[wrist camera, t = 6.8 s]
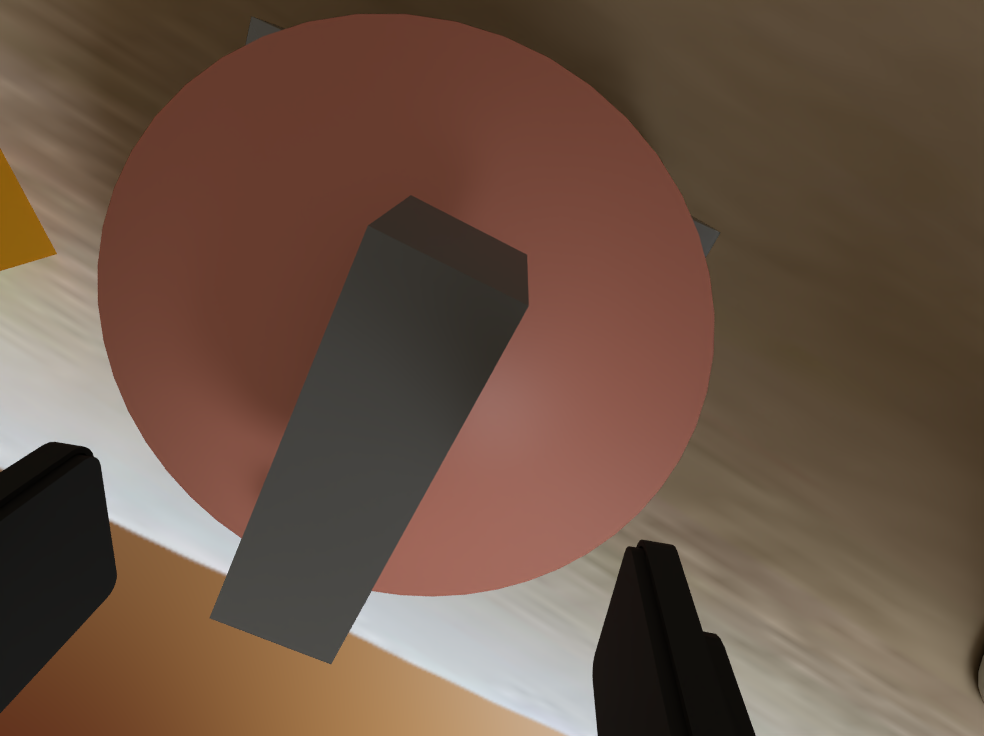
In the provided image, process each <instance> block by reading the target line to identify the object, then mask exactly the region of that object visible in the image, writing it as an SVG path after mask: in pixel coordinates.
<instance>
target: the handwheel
mask: <svg viewBox="0 0 984 736" xmlns="http://www.w3.org/2000/svg"><path fill="white" fill-rule="evenodd" d="M98 306H99V313H100V320H101V327H102V333H103V340H104V344H105V348H106V351H107V355H108V358H109V362H110V365H111V369H112V372H113V376H114V379H115V381H116V383H117V386H118V388H119V390H120V393H121V395H122V397H123V400H124V402H125V405H126V407H127V409H128V411H129V413H130V415H131V417H132V418H133V420H134V422H135V424H136V425H137V427H138V429H139V431H140V432H141V434H142V436H143V438H144V439H145V441H146V443H147V444H148V446H149V447H150V448H151V450H152V451H153V452H154V454H155V455H156V457H157V458H158V459H159V461H160V462H161V463H162V465H163V466H164V467H165V469H166V470H167V471H168V473H169V474H170V475H171V476H172V477H173V478H174V479H175V480H176V481H177V482H178V484H179V485H180V486H181V487H182V488H183V489H184V490H185V491H186V492H187V493H188V495H189V496H190V497H191V498H192V499H193V500H195V501H196V502H197V503H198V504H199V505H200V506H201V507H202V508H204V509H205V510H206V511H207V512H208V513H209V514H210V515H211V516H213V517H214V518H215V519H216V520H217V521H218V522H220V523H221V524H223V525H224V526H225V527H227V528H228V529H229V530H231V531H232V532H234V533H235V534H236V535H238V536H239V537H240V538H242V539H241V541H240V544H239V546H238V549H237V551H236V554H235V556H234V559H233V561H232V564H231V566H230V569H229V571H228V574H227V576H226V579H225V581H224V584H223V586H222V589H221V591H220V594H219V596H218V598H217V601H216V603H215V606H214V609H213V611H212V613H211V616H210V618H211V619H213V620H216V621H218V622H221V623H224V624H226V625H229V626H232V627H234V628H237V629H239V630H242V631H245V632H247V633H250V634H253V635H255V636H258V637H261V638H263V639H266V640H269V641H271V642H274V643H276V644H279V645H282V646H284V647H287V648H289V649H292V650H295V651H297V652H300V653H303V654H305V655H308V656H310V657H313V658H316V659H318V660H321V661H324V662H326V663H329V664H331V663H332V662H333V660H334V658H335V656H336V654H337V653H338V651H339V649H340V647H341V645H342V643H343V642H344V640H345V638H346V636H347V634H348V633H349V631H350V629H351V627H352V625H353V624H354V622H355V620H356V618H357V616H358V615H359V613H360V611H361V609H362V607H363V605H364V604H365V602H366V600H367V598H368V596H369V595H370V593H371V591H376V592H383V593H390V594H397V595H412V596H448V595H465V594H472V593H478V592H484V591H490V590H496V589H500V588H504V587H508V586H511V585H515V584H519V583H522V582H526V581H529V580H532V579H534V578H537V577H539V576H542V575H544V574H547V573H549V572H552V571H555V570H557V569H559V568H561V567H563V566H565V565H567V564H569V563H571V562H573V561H574V560H576V559H578V558H580V557H582V556H584V555H586V554H588V553H589V552H590V551H592V550H593V549H595V548H596V547H598V546H599V545H601V544H602V543H603V542H605V541H606V540H608V539H609V538H611V537H612V536H613V535H615V534H616V533H617V532H618V531H619V530H620V529H622V528H623V527H624V526H625V525H626V524H627V523H628V522H629V521H631V520H632V519H633V518H634V517H635V516H636V515H637V514H638V513H639V512H640V511H641V510H642V509H643V508H644V507H645V506H646V504H647V503H648V502H649V501H650V500H651V499H652V497H653V496H654V495H655V494H656V493H657V492H658V491H659V489H660V488H661V487H662V486H663V484H664V483H665V481H666V480H667V478H668V477H669V475H670V474H671V472H672V471H673V469H674V467H675V466H676V464H677V463H678V461H679V460H680V458H681V456H682V454H683V452H684V450H685V448H686V446H687V444H688V442H689V440H690V438H691V436H692V434H693V432H694V429H695V427H696V425H697V422H698V419H699V415H700V412H701V409H702V406H703V403H704V400H705V397H706V394H707V389H708V384H709V378H710V372H711V366H712V360H713V353H714V307H713V299H712V290H711V282H710V274H709V271H708V267H707V263H706V259H705V256H704V252H703V248H702V244H701V241H700V237H699V234H698V231H697V229H696V227H695V224H694V222H693V220H692V217H691V215H690V213H689V210H688V208H687V206H686V203H685V201H684V199H683V196H682V194H681V192H680V191H679V189H678V188H677V186H676V184H675V183H674V181H673V179H672V178H671V176H670V175H669V173H668V171H667V170H666V168H665V166H664V165H663V163H662V161H661V160H660V158H659V157H658V155H657V154H656V153H655V151H654V150H653V149H652V148H651V147H650V145H649V144H648V143H647V142H646V141H645V139H644V138H643V137H642V136H641V134H640V133H639V132H638V131H637V130H636V128H635V127H634V126H633V125H632V124H631V122H630V121H629V120H628V119H627V118H626V117H625V116H624V115H623V114H622V113H621V112H619V111H618V110H617V109H616V108H615V107H614V106H613V105H612V104H611V103H609V102H608V101H607V100H606V99H605V98H604V97H603V96H602V95H601V94H599V93H598V92H597V91H596V90H595V89H594V88H593V87H592V86H590V85H589V84H587V83H586V82H584V81H583V80H581V79H580V78H579V77H577V76H576V75H574V74H573V73H571V72H570V71H568V70H567V69H565V68H564V67H562V66H561V65H559V64H558V63H556V62H555V61H553V60H552V59H550V58H548V57H546V56H544V55H542V54H540V53H538V52H536V51H534V50H531V49H529V48H527V47H525V46H523V45H521V44H519V43H517V42H515V41H513V40H510V39H508V38H506V37H504V36H501V35H498V34H494V33H491V32H488V31H485V30H481V29H478V28H475V27H472V26H468V25H465V24H462V23H459V22H455V21H449V20H442V19H435V18H429V17H422V16H416V15H409V14H354V15H347V16H341V17H335V18H328V19H322V20H316V21H310V22H306V23H303V24H299V25H296V26H293V27H290V28H287V29H284V30H281V31H278V32H275V33H272V34H269V35H266V36H263V37H261V38H259V39H257V40H255V41H253V42H251V43H249V44H247V45H245V46H243V47H241V48H240V49H238V50H236V51H234V52H232V53H230V54H228V55H226V56H224V57H222V58H221V59H219V60H218V61H217V62H215V63H214V64H213V65H211V66H210V67H209V68H207V69H206V70H205V71H203V72H202V73H201V74H199V75H198V76H196V77H195V78H194V79H192V80H191V81H190V82H188V83H187V84H186V85H185V86H184V87H183V88H182V89H181V90H180V91H179V92H178V93H177V94H176V95H175V96H174V97H173V98H172V99H171V100H170V101H169V102H168V103H167V105H166V106H165V107H164V108H163V109H162V110H161V111H160V112H159V113H158V114H157V115H156V116H155V117H154V119H153V120H152V122H151V123H150V125H149V126H148V128H147V129H146V131H145V132H144V133H143V135H142V136H141V138H140V139H139V141H138V142H137V144H136V145H135V147H134V148H133V150H132V151H131V153H130V155H129V157H128V160H127V162H126V164H125V166H124V168H123V170H122V172H121V174H120V177H119V179H118V181H117V183H116V185H115V187H114V190H113V194H112V197H111V200H110V204H109V207H108V211H107V214H106V218H105V221H104V224H103V230H102V237H101V244H100V252H99V259H98Z"/></svg>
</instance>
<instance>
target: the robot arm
mask: <svg viewBox="0 0 984 736" xmlns="http://www.w3.org/2000/svg"><path fill="white" fill-rule="evenodd" d="M116 579H117V572H116V566H115V558H114V551H113V545H112V538H111V532H110V525H109V518H108V511H107V505H106V498H105V491H104V485H103V478H102V471H101V465H100V462H99V460H98V459H97V458H95V457H94V456H93V453H92V452H91V450H90V449H89V448H86V447H83V446H77V445H71V444H65V443H59V442H49V443H47V444H44V445H42V446H41V447H39V448H38V449H36V450H35V451H33V452H31V453H30V454H28V455H27V456H25V457H24V458H22V459H20V460H19V461H17V462H16V463H14V464H13V465H11V466H9V467H8V468H6V469H5V470H3V471H2V472H0V713H1V712H2V711H3V710H4V709H5V707H6V706H7V705H8V704H9V703H10V702H11V701H12V700H13V699H14V698H15V697H16V695H18V694H19V692H20V691H21V690H22V689H23V688H24V687H25V686H26V685H27V684H28V683H29V682H30V681H31V679H32V678H33V677H34V676H35V675H36V674H37V673H38V672H39V671H40V670H41V669H42V668H43V666H44V665H45V664H46V663H47V662H48V661H49V660H50V659H51V658H52V657H53V656H54V655H55V654H56V652H57V651H58V650H59V649H60V648H61V647H62V646H63V645H64V644H65V643H66V641H68V639H69V638H70V637H71V636H72V635H73V634H74V633H75V632H76V631H77V630H78V629H79V628H80V626H81V625H82V624H83V623H84V622H85V621H86V620H87V619H88V618H89V617H90V616H91V614H92V613H93V612H94V611H95V610H96V609H97V608H98V607H99V606H100V605H101V604H102V603H103V602H104V601H105V599H106V598H107V597H108V596H109V595H110V593H111V592H112V590H113V588H114V585H115V583H116ZM978 687H979V690H980V693H981V697H982V700H983V702H984V655H983V658H982V662H981V665H980V668H979V672H978ZM593 689H594V700H595V710H596V721H597V732H598V736H756V735H755V732H754V730H753V727H752V724H751V721H750V718H749V715H748V713H747V710H746V707H745V704H744V701H743V698H742V695H741V693H740V690H739V687H738V684H737V681H736V678H735V676H734V673H733V670H732V667H731V664H730V661H729V659H728V656H727V653H726V650H725V647H724V645H723V643H722V641H721V639H720V638H719V637H718V636H717V635H716V634H714V633H708V632H703V630H702V627H701V624H700V621H699V618H698V615H697V612H696V608H695V605H694V602H693V599H692V596H691V593H690V590H689V587H688V583H687V580H686V577H685V574H684V571H683V568H682V565H681V562H680V558H679V555H678V552H677V550H676V547H675V546H674V545H671V544H665V543H659V542H653V541H647V540H640V541H639V543H638V544H637V547H630V546H628V547H627V548H626V551H625V553H624V557H623V560H622V564H621V567H620V570H619V574H618V577H617V581H616V584H615V588H614V591H613V594H612V598H611V601H610V605H609V608H608V611H607V615H606V618H605V622H604V625H603V628H602V632H601V635H600V639H599V642H598V645H597V649H596V652H595V656H594V661H593Z"/></svg>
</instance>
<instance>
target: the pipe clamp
mask: <svg viewBox="0 0 984 736" xmlns="http://www.w3.org/2000/svg"><path fill="white" fill-rule="evenodd" d="M55 254H57V253H56V251H55V249H54V248H53V246H52V244H51V242H50V240H49V238H48V236H47V235H46V233H45V231H44V229H43V227H42V225H41V223H40V221H39V220H38V218H37V216H36V214H35V212H34V210H33V208H32V207H31V205H30V203H29V201H28V199H27V197H26V195H25V194H24V192H23V190H22V188H21V186H20V184H19V182H18V180H17V179H16V177H15V175H14V173H13V171H12V169H11V167H10V166H9V164H8V162H7V160H6V158H5V156H4V154H3V153H2V151H1V149H0V271H2V270H5V269H8V268H12V267H15V266H18V265H22V264H25V263H28V262H32V261H35V260H38V259H42V258H45V257H48V256H52V255H55Z"/></svg>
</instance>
